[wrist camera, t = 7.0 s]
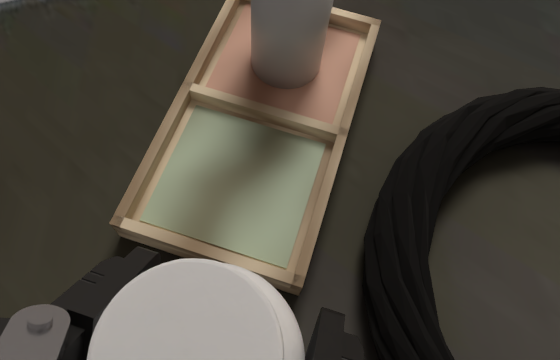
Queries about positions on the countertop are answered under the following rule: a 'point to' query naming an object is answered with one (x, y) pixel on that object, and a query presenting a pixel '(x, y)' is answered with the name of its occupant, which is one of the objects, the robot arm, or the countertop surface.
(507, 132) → the cable lock
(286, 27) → the grey tube
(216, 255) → the divided tray
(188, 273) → the pill bottle
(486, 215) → the countertop surface
